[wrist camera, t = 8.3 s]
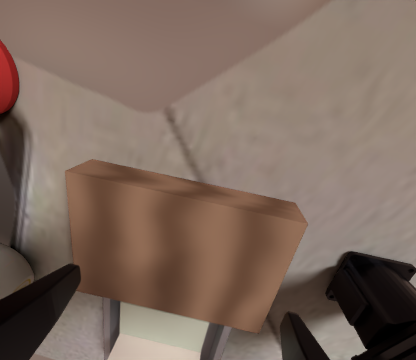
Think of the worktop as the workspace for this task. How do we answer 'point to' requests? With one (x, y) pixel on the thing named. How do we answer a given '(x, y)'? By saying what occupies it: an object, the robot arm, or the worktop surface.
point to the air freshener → (13, 271)
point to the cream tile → (148, 350)
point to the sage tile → (162, 326)
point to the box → (210, 347)
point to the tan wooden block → (180, 243)
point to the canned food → (7, 80)
